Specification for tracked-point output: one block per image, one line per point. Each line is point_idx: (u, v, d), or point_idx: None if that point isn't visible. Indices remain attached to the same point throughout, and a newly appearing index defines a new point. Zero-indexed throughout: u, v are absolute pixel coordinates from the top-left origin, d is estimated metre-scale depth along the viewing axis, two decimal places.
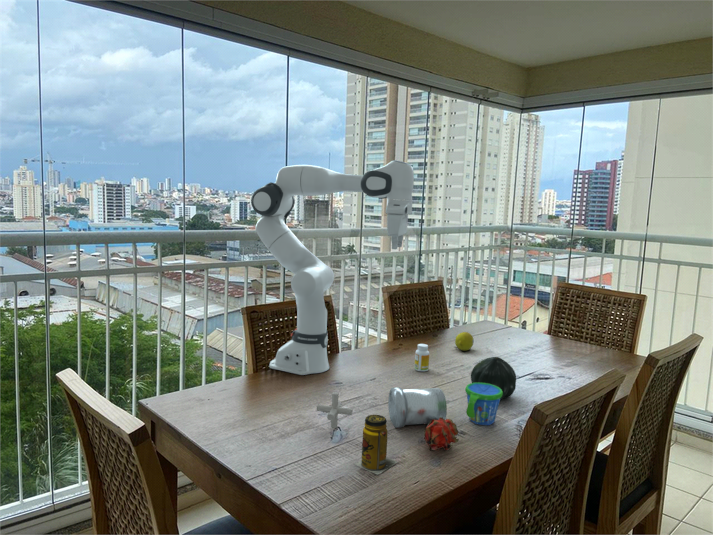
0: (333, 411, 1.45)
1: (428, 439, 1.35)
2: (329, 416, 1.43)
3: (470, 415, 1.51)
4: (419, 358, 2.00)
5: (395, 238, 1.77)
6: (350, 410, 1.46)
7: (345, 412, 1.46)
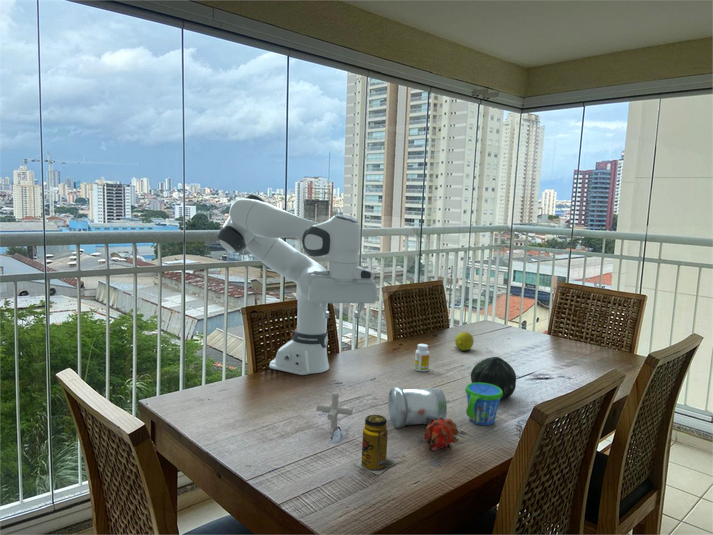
0: (333, 411, 1.45)
1: (428, 439, 1.35)
2: (329, 416, 1.43)
3: (470, 415, 1.51)
4: (419, 358, 2.00)
5: None
6: (350, 410, 1.46)
7: (345, 412, 1.46)
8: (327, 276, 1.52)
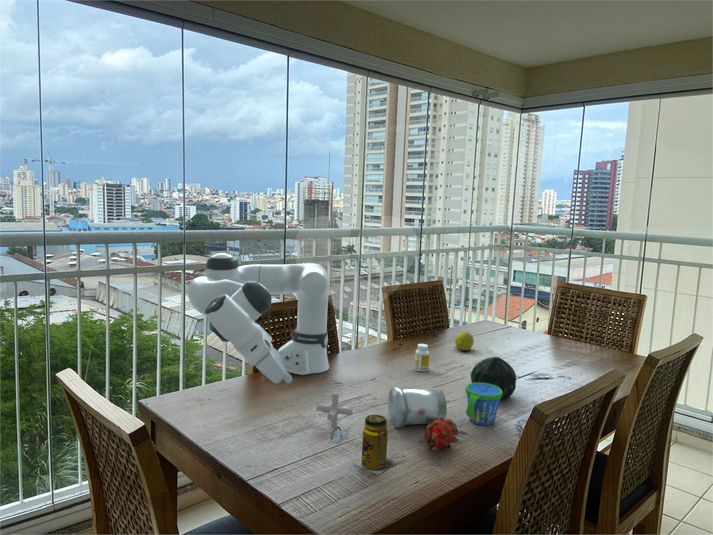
0: (333, 411, 1.45)
1: (428, 439, 1.35)
2: (329, 416, 1.43)
3: (470, 415, 1.51)
4: (419, 358, 2.00)
5: None
6: (350, 410, 1.46)
7: (345, 412, 1.46)
8: None
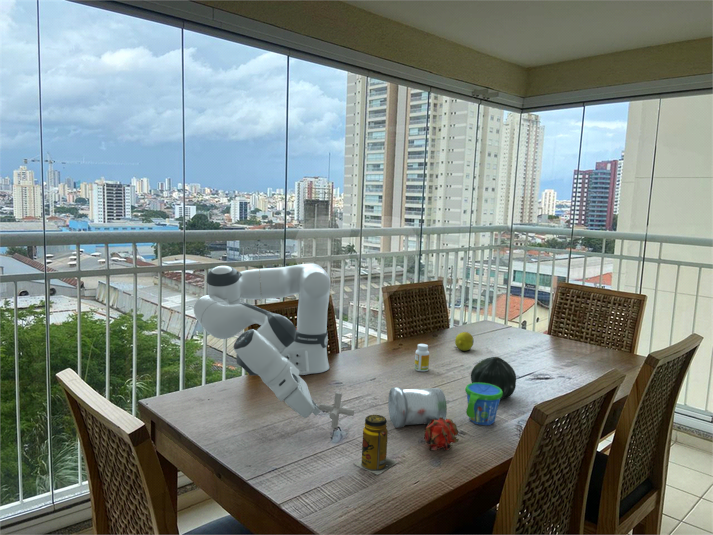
0: (335, 410, 1.45)
1: (428, 439, 1.35)
2: (331, 415, 1.43)
3: (470, 415, 1.51)
4: (419, 358, 2.00)
5: None
6: (352, 411, 1.46)
7: (347, 412, 1.46)
8: None
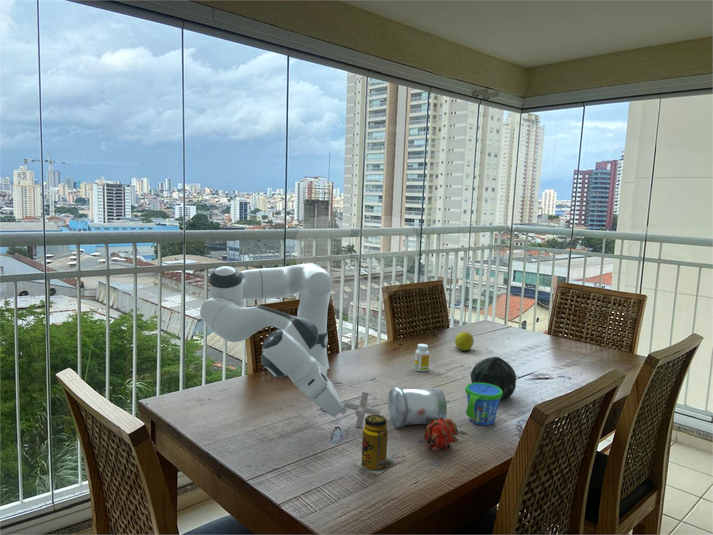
0: (361, 409, 1.46)
1: (428, 439, 1.35)
2: (357, 412, 1.44)
3: (470, 415, 1.51)
4: (419, 358, 2.00)
5: None
6: (378, 411, 1.48)
7: (373, 412, 1.48)
8: None
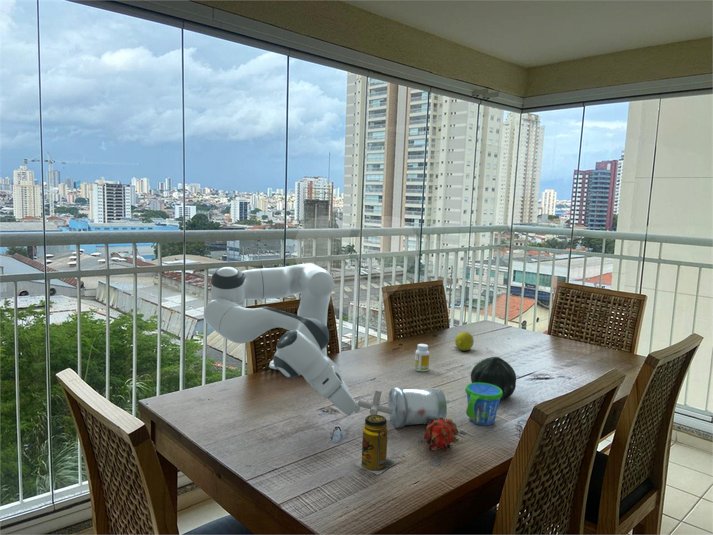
0: (375, 407, 1.48)
1: (428, 439, 1.35)
2: (372, 411, 1.46)
3: (470, 415, 1.51)
4: (419, 358, 2.00)
5: None
6: (391, 409, 1.49)
7: (386, 410, 1.49)
8: None
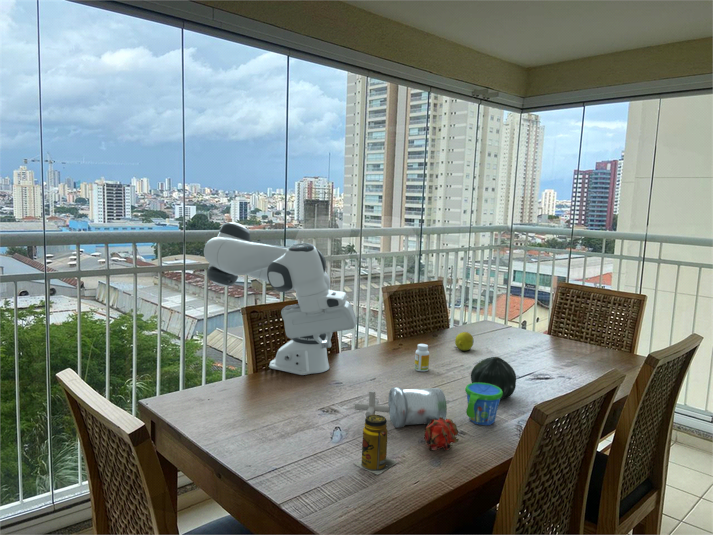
0: (371, 409, 1.47)
1: (428, 439, 1.35)
2: (367, 414, 1.46)
3: (470, 415, 1.51)
4: (419, 358, 2.00)
5: (331, 332, 1.47)
6: (387, 407, 1.49)
7: (382, 410, 1.49)
8: (299, 309, 1.46)
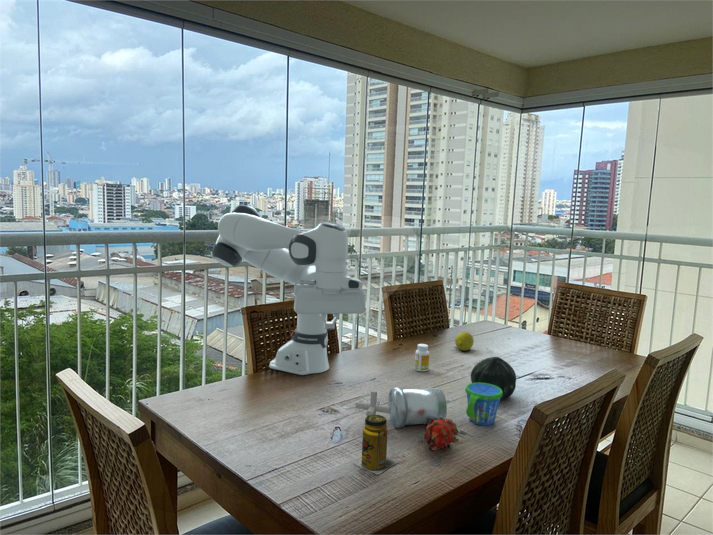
0: (372, 408, 1.48)
1: (428, 439, 1.35)
2: (368, 413, 1.46)
3: (470, 415, 1.51)
4: (419, 358, 2.00)
5: None
6: (388, 408, 1.49)
7: (383, 410, 1.49)
8: (313, 286, 1.46)
